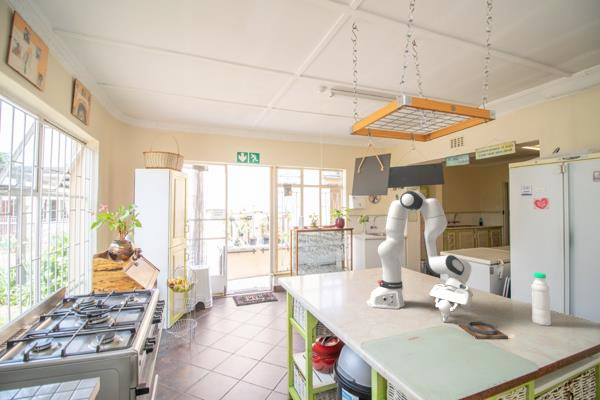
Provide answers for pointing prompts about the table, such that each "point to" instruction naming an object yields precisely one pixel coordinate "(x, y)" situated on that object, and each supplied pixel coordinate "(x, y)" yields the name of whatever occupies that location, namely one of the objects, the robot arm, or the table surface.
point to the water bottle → (540, 300)
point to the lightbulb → (444, 309)
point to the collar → (482, 330)
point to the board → (482, 336)
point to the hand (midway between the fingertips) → (444, 309)
